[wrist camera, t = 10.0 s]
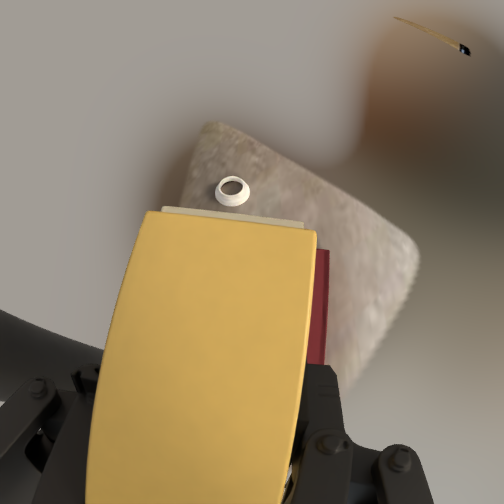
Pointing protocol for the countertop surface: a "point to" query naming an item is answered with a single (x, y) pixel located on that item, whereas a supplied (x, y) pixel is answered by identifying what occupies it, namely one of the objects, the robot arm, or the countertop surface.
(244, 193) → the upside-down white bowl
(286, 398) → the small book
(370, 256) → the countertop surface
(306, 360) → the robot arm
